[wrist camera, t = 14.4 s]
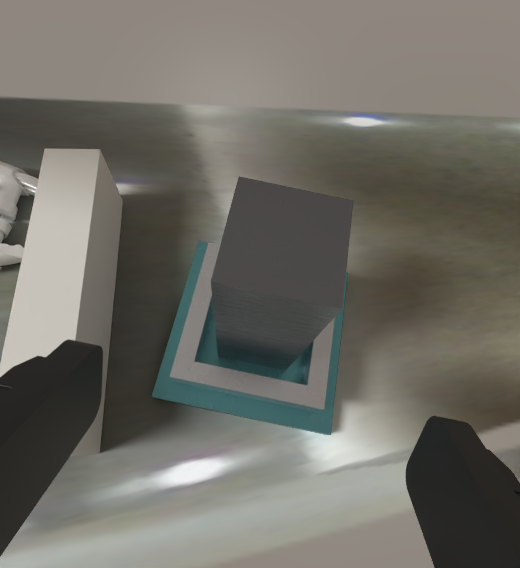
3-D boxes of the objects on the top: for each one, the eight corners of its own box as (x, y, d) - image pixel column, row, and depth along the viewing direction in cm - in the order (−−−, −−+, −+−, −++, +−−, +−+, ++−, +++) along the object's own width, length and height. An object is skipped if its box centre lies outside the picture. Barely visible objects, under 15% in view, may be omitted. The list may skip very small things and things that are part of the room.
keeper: (154, 398, 20) (143, 392, 18) (199, 246, 24) (196, 224, 22) (326, 434, 20) (341, 434, 18) (343, 277, 24) (357, 259, 22)
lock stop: (217, 356, 21) (210, 281, 11) (232, 293, 22) (238, 176, 12) (285, 370, 21) (342, 309, 11) (295, 306, 22) (353, 200, 12)
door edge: (99, 453, 19) (59, 458, 14) (39, 457, 19) (-21, 464, 14) (123, 201, 25) (100, 149, 21) (78, 201, 25) (44, 148, 20)
